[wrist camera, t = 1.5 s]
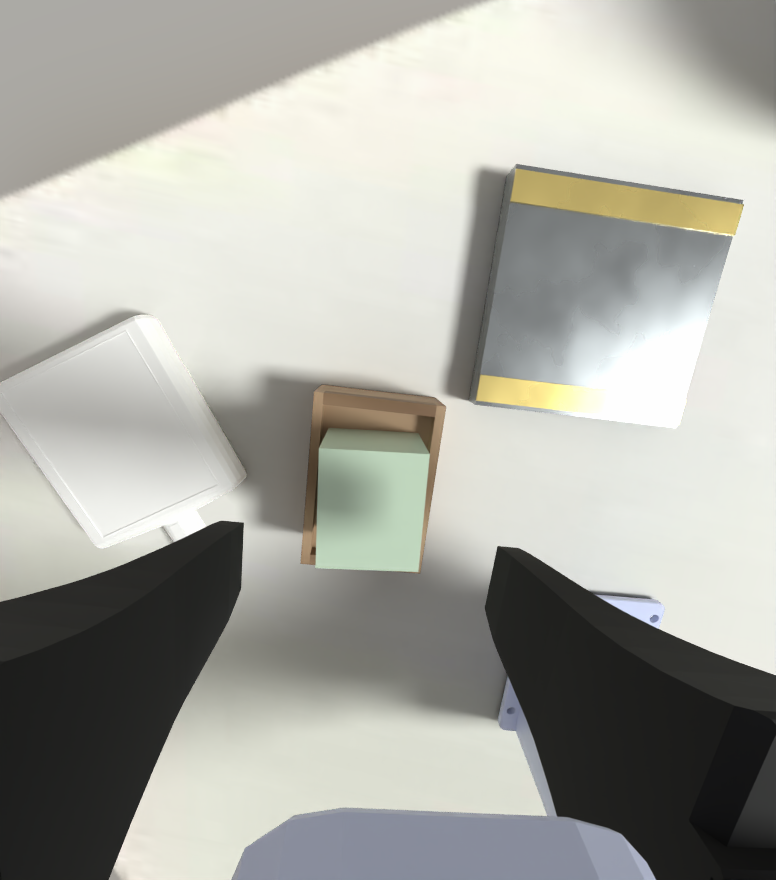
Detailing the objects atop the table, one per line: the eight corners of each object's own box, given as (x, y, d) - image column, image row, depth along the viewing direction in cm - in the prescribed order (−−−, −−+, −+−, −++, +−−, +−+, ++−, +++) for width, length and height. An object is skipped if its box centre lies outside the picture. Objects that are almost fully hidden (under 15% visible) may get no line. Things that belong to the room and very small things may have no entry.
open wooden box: (412, 539, 22) (420, 573, 19) (310, 530, 21) (300, 563, 18) (433, 396, 20) (446, 406, 17) (322, 383, 20) (313, 391, 16)
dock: (658, 423, 20) (677, 428, 19) (468, 401, 20) (475, 404, 18) (719, 209, 18) (745, 199, 17) (506, 176, 17) (517, 162, 16)
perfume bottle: (137, 312, 17) (273, 545, 19) (161, 315, 19) (282, 527, 21) (-23, 392, 17) (132, 608, 20) (17, 387, 19) (153, 584, 22)
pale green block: (409, 530, 19) (418, 572, 16) (325, 527, 19) (315, 568, 15) (418, 433, 18) (429, 454, 14) (328, 427, 18) (319, 448, 14)
